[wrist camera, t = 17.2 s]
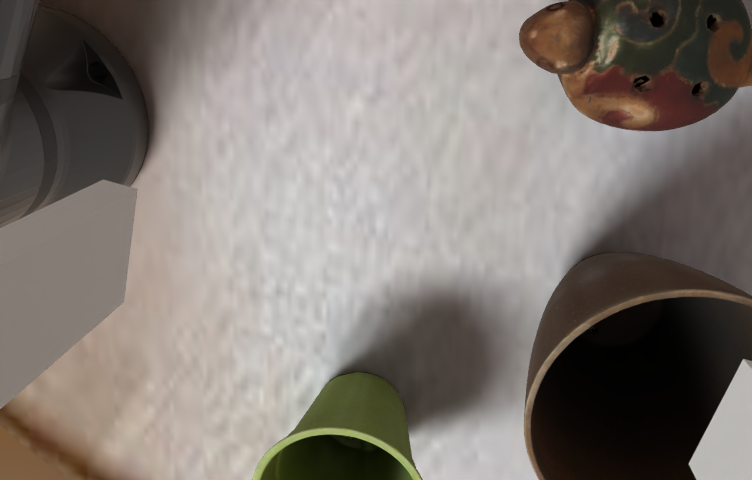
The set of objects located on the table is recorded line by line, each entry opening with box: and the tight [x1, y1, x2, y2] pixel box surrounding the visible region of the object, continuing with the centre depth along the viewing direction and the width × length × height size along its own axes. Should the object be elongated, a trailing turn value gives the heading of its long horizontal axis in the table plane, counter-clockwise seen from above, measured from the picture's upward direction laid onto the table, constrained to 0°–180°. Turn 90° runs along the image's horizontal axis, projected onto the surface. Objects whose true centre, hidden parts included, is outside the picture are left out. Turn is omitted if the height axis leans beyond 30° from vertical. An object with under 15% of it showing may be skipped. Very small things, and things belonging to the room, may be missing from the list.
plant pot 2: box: [524, 252, 752, 480], centre depth 40 cm, size 15×15×16 cm
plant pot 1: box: [252, 372, 422, 480], centre depth 48 cm, size 12×12×11 cm
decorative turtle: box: [519, 0, 752, 131], centre depth 38 cm, size 10×15×8 cm, turn 89°
